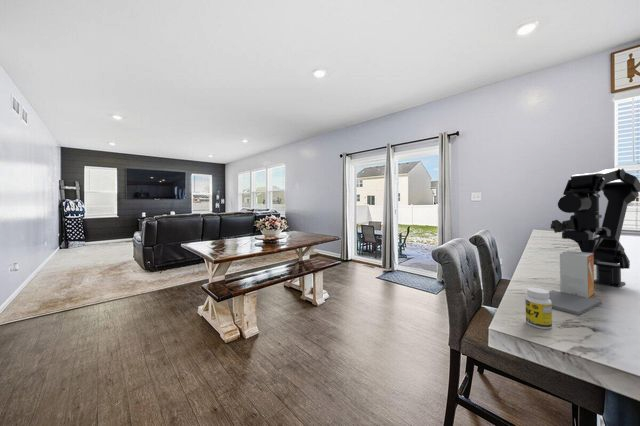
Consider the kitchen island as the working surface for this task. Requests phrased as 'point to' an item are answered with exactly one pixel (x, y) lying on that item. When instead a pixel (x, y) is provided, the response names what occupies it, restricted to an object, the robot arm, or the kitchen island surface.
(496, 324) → the kitchen island surface
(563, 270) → the small box
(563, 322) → the kitchen island surface
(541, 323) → the supplement bottle
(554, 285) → the kitchen island surface
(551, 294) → the mat
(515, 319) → the kitchen island surface
